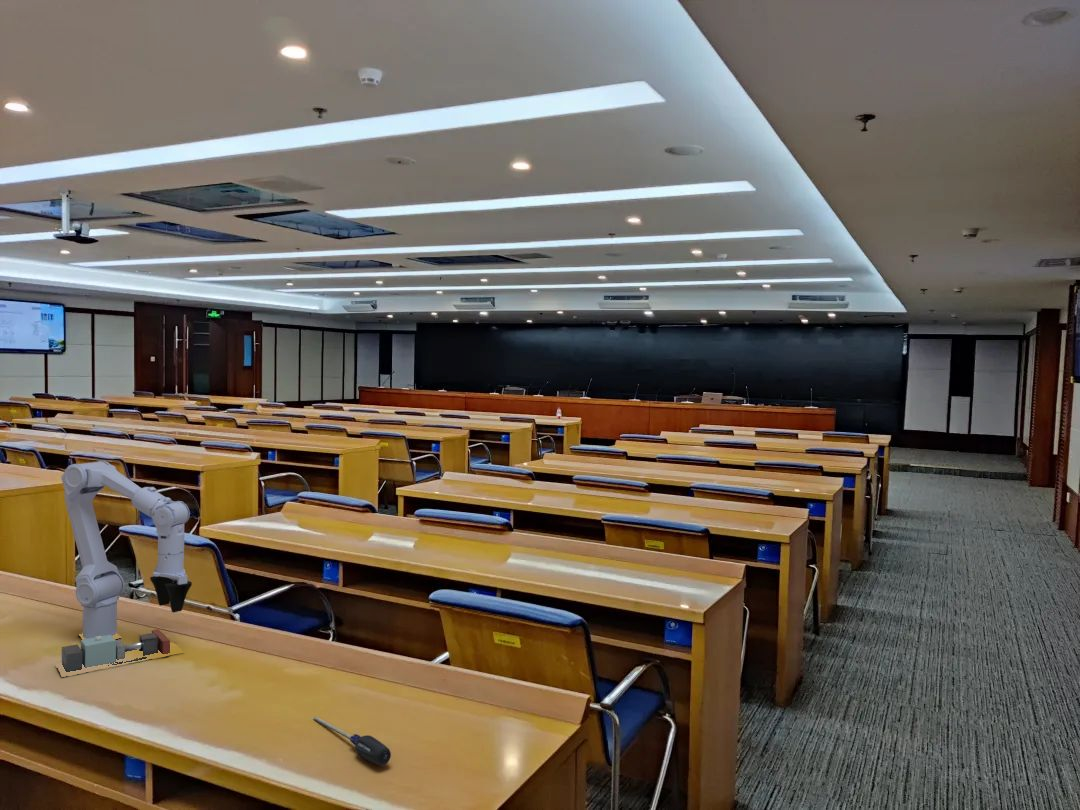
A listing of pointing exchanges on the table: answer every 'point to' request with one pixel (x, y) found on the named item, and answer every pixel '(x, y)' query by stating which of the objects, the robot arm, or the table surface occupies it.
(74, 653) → the frame
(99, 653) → the block
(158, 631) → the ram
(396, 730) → the table surface
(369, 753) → the screwdriver
